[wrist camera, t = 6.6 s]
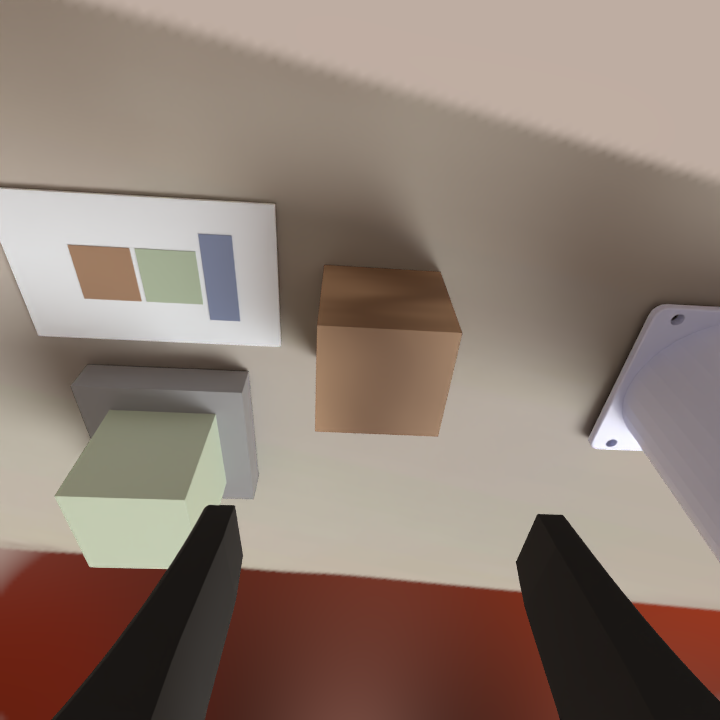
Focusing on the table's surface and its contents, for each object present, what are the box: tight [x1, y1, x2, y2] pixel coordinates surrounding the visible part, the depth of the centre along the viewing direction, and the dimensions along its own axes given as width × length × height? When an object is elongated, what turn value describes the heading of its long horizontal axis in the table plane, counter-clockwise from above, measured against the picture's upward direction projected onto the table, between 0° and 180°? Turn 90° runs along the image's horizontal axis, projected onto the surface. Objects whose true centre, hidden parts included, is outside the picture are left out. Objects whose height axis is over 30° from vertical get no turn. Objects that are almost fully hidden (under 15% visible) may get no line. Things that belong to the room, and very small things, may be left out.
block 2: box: [315, 265, 462, 436], centre depth 17 cm, size 4×4×4 cm
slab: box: [71, 365, 259, 499], centre depth 22 cm, size 7×7×2 cm
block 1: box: [54, 410, 226, 569], centre depth 19 cm, size 4×4×4 cm
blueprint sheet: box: [0, 187, 281, 347], centre depth 18 cm, size 10×6×1 cm, turn 86°
